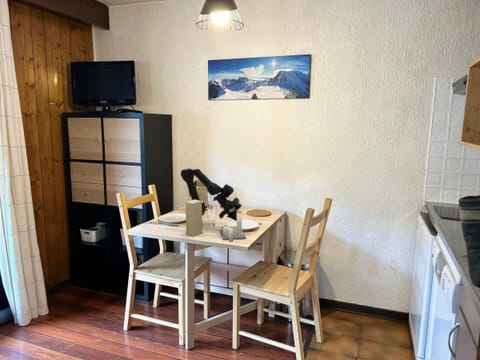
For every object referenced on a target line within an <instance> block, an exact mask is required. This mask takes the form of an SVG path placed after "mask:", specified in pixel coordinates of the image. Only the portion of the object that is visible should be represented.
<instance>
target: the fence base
mask: <svg viewBox="0 0 480 360" xmlns="http://www.w3.org/2000/svg"><path fill="white" fill-rule="evenodd" d="M229 227H230V225H228V224H227V225H223V227H222V230H223V236H225V237H227V238H228V240H227V241H228V242H230V243H231V242H233V241H234V240H233V229H232V228H229Z"/></svg>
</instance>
